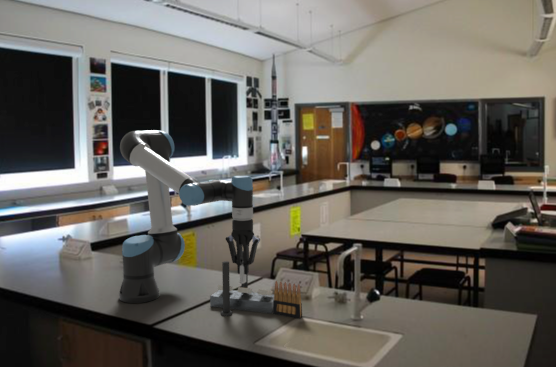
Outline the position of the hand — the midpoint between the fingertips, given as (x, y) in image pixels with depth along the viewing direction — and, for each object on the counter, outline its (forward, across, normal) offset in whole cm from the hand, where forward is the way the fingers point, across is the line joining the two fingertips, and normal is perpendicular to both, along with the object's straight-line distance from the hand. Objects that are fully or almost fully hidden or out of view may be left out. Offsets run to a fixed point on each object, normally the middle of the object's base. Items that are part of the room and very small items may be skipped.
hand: (243, 282), depth 197 cm
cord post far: (+9, -3, +8) cm, 13 cm away
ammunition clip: (+10, +18, -3) cm, 21 cm away
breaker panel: (+9, 0, +2) cm, 10 cm away
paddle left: (+3, -8, +2) cm, 9 cm away
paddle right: (+3, +8, +2) cm, 9 cm away
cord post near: (+9, -3, -8) cm, 13 cm away
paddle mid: (+3, 0, +2) cm, 4 cm away
